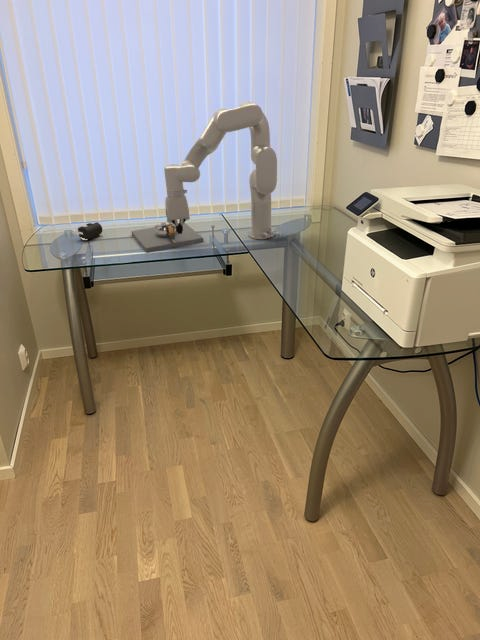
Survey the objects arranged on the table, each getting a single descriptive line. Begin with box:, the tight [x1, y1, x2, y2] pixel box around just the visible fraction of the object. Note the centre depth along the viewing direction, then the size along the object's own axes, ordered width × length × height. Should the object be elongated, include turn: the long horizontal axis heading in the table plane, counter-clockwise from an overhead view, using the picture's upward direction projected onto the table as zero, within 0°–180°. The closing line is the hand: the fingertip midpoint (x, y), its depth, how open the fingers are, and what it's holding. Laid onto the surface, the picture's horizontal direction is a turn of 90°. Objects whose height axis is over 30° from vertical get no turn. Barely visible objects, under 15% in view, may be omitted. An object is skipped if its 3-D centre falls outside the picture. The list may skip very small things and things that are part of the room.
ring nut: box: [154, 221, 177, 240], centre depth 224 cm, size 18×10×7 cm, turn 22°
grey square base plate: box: [131, 221, 204, 253], centre depth 230 cm, size 28×28×2 cm
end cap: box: [77, 221, 103, 240], centre depth 233 cm, size 10×7×7 cm
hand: (179, 233), depth 219 cm, fingers closed
